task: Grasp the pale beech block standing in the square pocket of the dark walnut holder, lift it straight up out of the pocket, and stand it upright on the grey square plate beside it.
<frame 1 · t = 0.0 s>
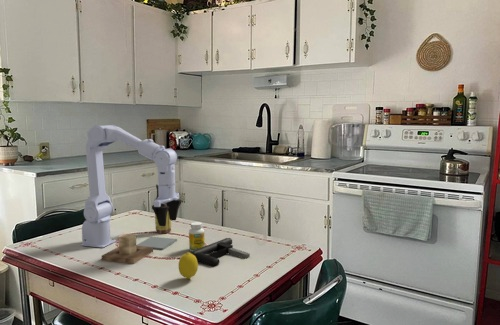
hand: (167, 222, 138), 10 cm above the table, tool pointing down, fingers open, 7 cm apart
beech block: (127, 245, 135), in the pocket holder
supplement bottle: (197, 250, 141), on the table
lemon: (188, 279, 116), on the table
sauce bottle: (163, 232, 162), on the table
toy gun: (223, 257, 135), on the table
pocket holder: (128, 255, 135), on the table
grey square plate: (156, 243, 147), on the table
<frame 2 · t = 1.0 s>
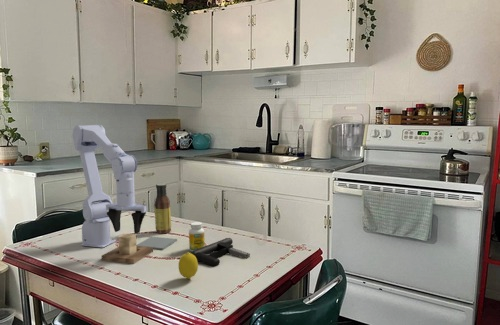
hand: (127, 231, 134), 8 cm above the table, tool pointing down, fingers open, 7 cm apart
nothing on the table moved.
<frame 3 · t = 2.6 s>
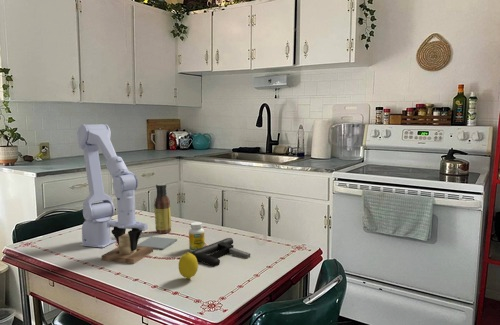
hand: (127, 249, 135), 2 cm above the table, tool pointing down, fingers closed on beech block, 4 cm apart
beech block: (127, 245, 135), in the pocket holder, touching gripper
everything else where it was.
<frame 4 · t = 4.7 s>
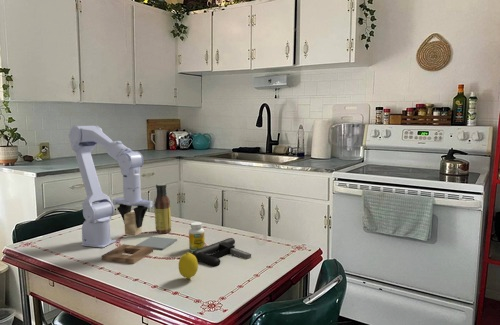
hand: (133, 226, 136), 9 cm above the table, tool pointing down, fingers closed on beech block, 4 cm apart
beech block: (133, 223, 136), point 10 cm above the table, touching gripper
everything else where it was.
when the fingers open (4 cm above the table, at t = 7.1 s): beech block drops 1 cm, resting on grey square plate.
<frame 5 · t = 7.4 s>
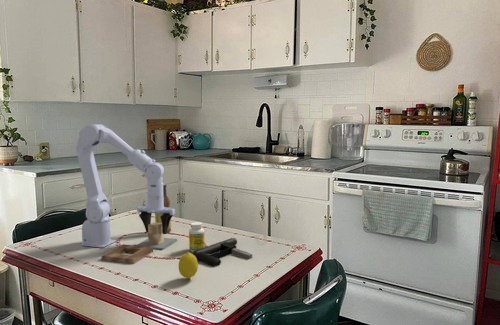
hand: (156, 232, 147), 4 cm above the table, tool pointing down, fingers open, 6 cm apart
beech block: (156, 233, 147), on the grey square plate, point 4 cm above the table
everything else where it was.
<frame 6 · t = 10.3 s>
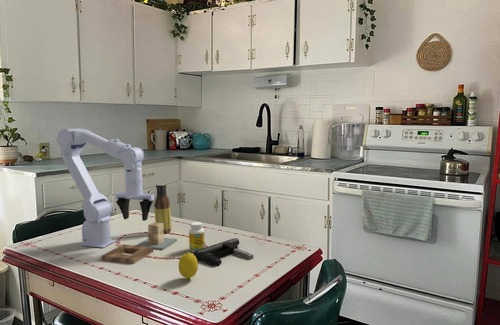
hand: (135, 219, 142), 10 cm above the table, tool pointing down, fingers open, 7 cm apart
at the end: beech block inside the target area on the grey square plate (0.4 cm from its centre), point 4.1 cm above the grey square plate's base; beech block tilted 0°; the gripper is holding nothing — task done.
